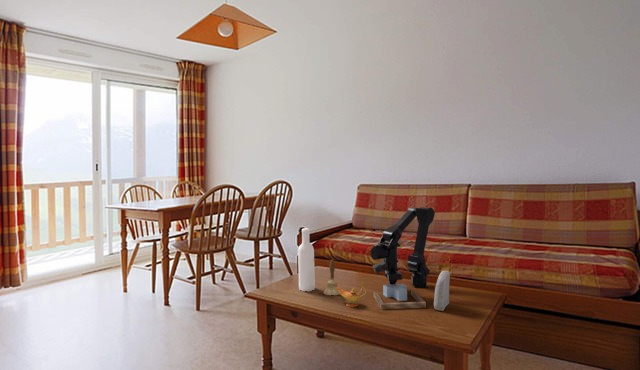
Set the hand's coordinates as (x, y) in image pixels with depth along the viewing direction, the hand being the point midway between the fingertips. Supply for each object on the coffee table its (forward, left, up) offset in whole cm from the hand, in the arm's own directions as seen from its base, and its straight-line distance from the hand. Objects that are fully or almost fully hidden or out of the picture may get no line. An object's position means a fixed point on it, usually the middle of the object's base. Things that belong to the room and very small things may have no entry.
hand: (391, 289), depth 180 cm
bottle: (+40, -10, -2) cm, 41 cm away
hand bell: (+28, -3, -2) cm, 28 cm away
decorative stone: (-16, +21, -2) cm, 27 cm away
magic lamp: (+22, +13, -2) cm, 26 cm away
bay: (0, +12, -1) cm, 12 cm away
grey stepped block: (-1, +6, -1) cm, 6 cm away
